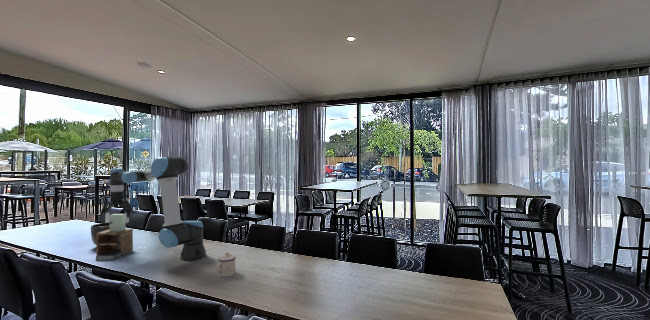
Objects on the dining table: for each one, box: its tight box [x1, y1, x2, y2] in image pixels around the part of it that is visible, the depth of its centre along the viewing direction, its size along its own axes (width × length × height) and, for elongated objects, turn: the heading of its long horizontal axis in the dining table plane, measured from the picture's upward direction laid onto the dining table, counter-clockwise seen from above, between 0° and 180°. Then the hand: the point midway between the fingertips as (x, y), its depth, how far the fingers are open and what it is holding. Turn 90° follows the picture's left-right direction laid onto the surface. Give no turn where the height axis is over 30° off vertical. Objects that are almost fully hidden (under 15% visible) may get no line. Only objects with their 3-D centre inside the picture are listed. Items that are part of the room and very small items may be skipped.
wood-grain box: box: [95, 228, 134, 256], centre depth 201 cm, size 16×12×15 cm
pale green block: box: [109, 213, 126, 231], centre depth 202 cm, size 8×5×11 cm, turn 90°
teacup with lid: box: [215, 251, 236, 278], centre depth 161 cm, size 12×9×12 cm
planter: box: [90, 222, 109, 246], centre depth 218 cm, size 17×17×16 cm
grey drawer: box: [95, 237, 124, 262], centre depth 191 cm, size 11×9×12 cm
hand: (117, 222), depth 202 cm, fingers open, 13 cm apart
